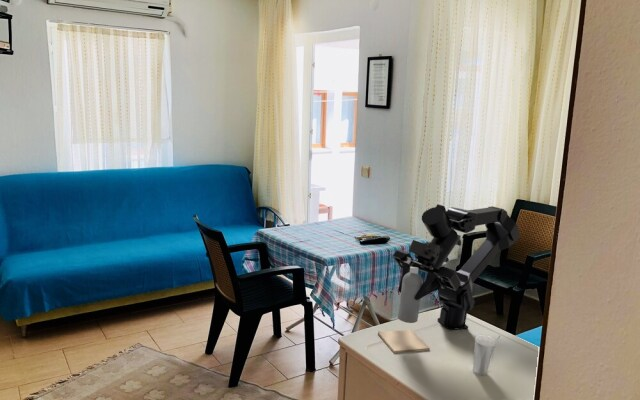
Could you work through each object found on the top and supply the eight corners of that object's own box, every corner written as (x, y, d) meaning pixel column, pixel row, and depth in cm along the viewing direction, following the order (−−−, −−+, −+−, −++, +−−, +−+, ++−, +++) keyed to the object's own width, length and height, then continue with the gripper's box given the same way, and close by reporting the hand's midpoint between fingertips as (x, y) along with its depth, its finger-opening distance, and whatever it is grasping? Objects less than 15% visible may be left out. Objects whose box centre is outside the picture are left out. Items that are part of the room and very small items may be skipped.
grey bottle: (417, 315, 131) (423, 265, 128) (418, 324, 126) (424, 272, 123) (397, 313, 132) (404, 263, 129) (397, 321, 127) (404, 269, 124)
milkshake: (494, 379, 117) (501, 339, 115) (470, 375, 118) (477, 335, 116) (492, 369, 121) (498, 331, 119) (469, 365, 122) (475, 327, 120)
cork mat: (411, 331, 137) (411, 329, 137) (429, 350, 128) (429, 348, 128) (377, 334, 134) (377, 332, 134) (394, 353, 125) (394, 350, 124)
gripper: (401, 220, 133) (367, 266, 129) (460, 239, 120) (425, 291, 115) (416, 244, 140) (385, 289, 135) (474, 265, 126) (441, 315, 122)
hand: (407, 295), depth 127 cm, fingers closed on grey bottle, 5 cm apart
